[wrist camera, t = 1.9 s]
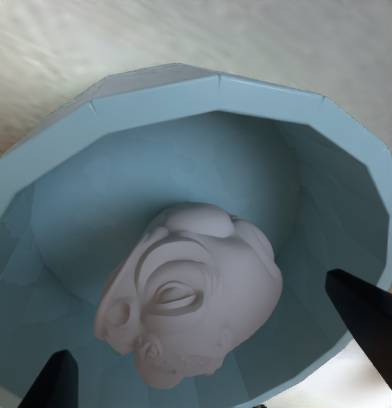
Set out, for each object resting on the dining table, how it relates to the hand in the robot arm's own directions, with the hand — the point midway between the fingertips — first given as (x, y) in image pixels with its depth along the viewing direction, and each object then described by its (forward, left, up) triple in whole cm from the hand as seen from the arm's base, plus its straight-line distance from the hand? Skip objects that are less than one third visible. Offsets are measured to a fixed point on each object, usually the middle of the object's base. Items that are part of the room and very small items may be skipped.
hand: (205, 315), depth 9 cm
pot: (0, 0, -6) cm, 6 cm away
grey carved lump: (0, 0, -5) cm, 5 cm away
